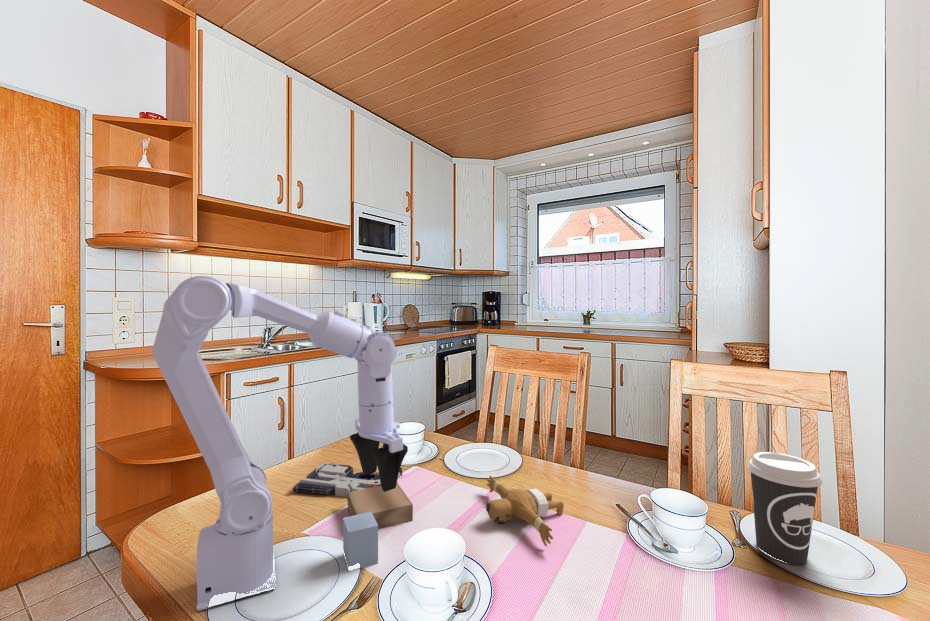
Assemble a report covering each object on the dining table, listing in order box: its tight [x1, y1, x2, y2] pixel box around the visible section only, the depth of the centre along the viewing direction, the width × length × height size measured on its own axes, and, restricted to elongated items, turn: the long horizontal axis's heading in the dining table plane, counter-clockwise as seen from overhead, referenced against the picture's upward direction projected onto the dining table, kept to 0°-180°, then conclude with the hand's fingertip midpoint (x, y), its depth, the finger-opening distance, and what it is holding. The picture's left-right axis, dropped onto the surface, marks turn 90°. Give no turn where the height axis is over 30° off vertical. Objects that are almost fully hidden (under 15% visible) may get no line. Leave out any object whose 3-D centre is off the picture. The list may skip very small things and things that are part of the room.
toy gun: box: [292, 462, 403, 498], centre depth 90 cm, size 3×20×15 cm
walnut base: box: [347, 482, 414, 530], centre depth 77 cm, size 10×10×3 cm
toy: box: [485, 475, 565, 547], centre depth 75 cm, size 16×16×5 cm
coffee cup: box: [746, 451, 823, 566], centre depth 66 cm, size 10×10×15 cm
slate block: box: [342, 512, 379, 569], centre depth 64 cm, size 4×4×6 cm
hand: (379, 480), depth 69 cm, fingers open, 7 cm apart
